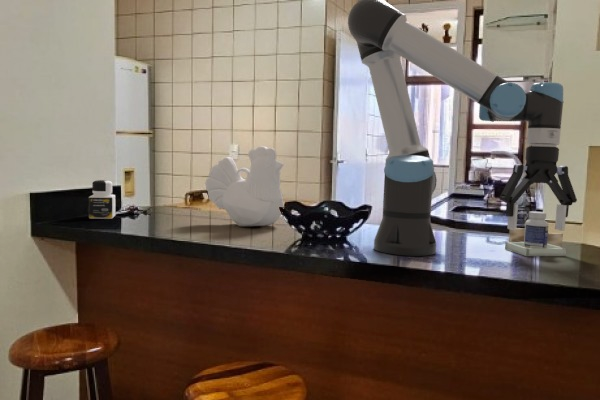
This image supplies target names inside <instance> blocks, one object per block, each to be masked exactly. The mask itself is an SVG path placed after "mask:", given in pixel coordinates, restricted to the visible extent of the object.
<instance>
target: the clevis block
mask: <svg viewBox="0 0 600 400" xmlns="http://www.w3.org/2000/svg"><path fill="white" fill-rule="evenodd" d="M508 230H509V232H508V234H509V235H508V242H524V236H525V227H524V228H520V227H516V230H510V229H508ZM563 236H564V233H561V232H548V238H547V244H551V245H554V246H558V247H562V248H563V240H564V238H563Z"/></svg>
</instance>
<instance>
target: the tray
mask: <svg viewBox="0 0 600 400" xmlns="http://www.w3.org/2000/svg"><path fill="white" fill-rule="evenodd" d="M504 250H507V251H510V252H512V253H515V254H518V255H522V256H525V257H566V254H567V248H565V247H563V246H562V247H558V246H554V245H551V244H547V248H525V247H524V242H509V241H507V242H505V243H504Z"/></svg>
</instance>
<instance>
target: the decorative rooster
mask: <svg viewBox="0 0 600 400" xmlns="http://www.w3.org/2000/svg"><path fill="white" fill-rule="evenodd" d="M248 158H249V160H250V162H251V164H250V168H247V167H240V168H239V169H238V166H237V164H236V162H235V160H234V158H233V157H232V156H225V157H223V158H221V159H219V161H218V163H216V164H214V165H213V166H212V167H211V168H210V172H209V173H208V177H207V178H206V180H205V182H204V183H205V190H206V191H207V195H208V199H209V201H210V202H211V203H213V204H214V205H215V207H216V208H218V209H219V210H224V211H226V213H227V215H228V216H229V217H230V218H231V219H232V221H233V222H234V223H235V224H236V225H237V226H239V227H259V226H260V227H261V226H270V225H274V224H275V223H276V222H278V220H279V219H280V218H281V216H282V214H281V213H280V210H279V207H283V206H285V205H284V196H283V194H282V190H281V189H282V188H281V169H282V168H283V167H284V165H285V164H284V162H281V161H279V160H278V159H277V150H276V149H275V148H273V147H267V146H265V145H259V146H257V147H256V148H255V147H254V148H251V149H249V151H248ZM243 172H245V174H246V178H243V177H242V173H243Z"/></svg>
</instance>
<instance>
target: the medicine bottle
mask: <svg viewBox="0 0 600 400" xmlns="http://www.w3.org/2000/svg"><path fill="white" fill-rule="evenodd" d="M91 186H92V195H90V196H88V218H89V219H91V220H93V219H96V220H97V219H101V220H103V219H104V220H111V219H113V218H114V217H116V194H113V182H112V181H111V180H105V179H103V180H102V179H100V180H99V179H98V180H94V181H92V185H91Z"/></svg>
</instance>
